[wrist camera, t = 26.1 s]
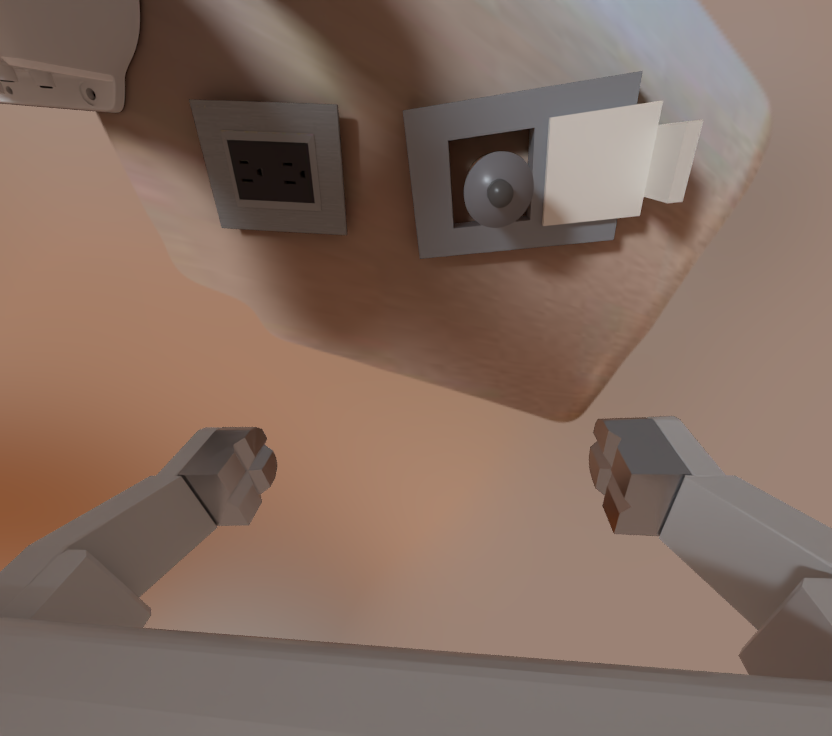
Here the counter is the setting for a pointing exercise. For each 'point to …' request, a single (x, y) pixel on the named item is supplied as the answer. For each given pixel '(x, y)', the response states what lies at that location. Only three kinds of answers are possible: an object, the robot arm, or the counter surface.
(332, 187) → the electrical outlet
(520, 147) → the counter surface
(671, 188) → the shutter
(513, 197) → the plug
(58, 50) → the robot arm
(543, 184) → the socket block
